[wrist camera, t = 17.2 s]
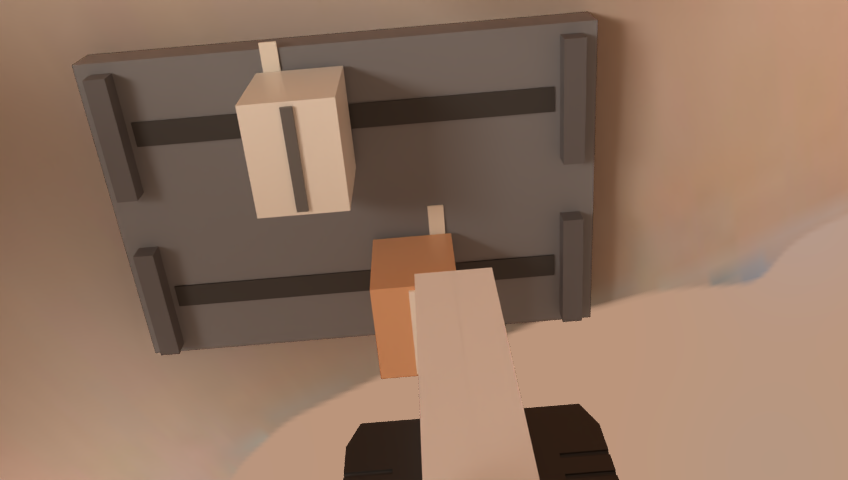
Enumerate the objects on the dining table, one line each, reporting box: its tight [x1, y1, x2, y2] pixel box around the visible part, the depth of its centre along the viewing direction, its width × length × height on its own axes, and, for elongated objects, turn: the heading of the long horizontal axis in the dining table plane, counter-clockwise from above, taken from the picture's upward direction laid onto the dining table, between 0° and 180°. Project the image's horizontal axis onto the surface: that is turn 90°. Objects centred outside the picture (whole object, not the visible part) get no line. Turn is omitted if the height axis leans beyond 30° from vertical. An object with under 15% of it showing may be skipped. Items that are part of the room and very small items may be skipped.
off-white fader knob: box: [235, 66, 356, 219], centre depth 34 cm, size 4×5×5 cm
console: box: [72, 12, 598, 355], centre depth 39 cm, size 24×17×3 cm
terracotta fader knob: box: [370, 233, 456, 379], centre depth 38 cm, size 4×5×5 cm
